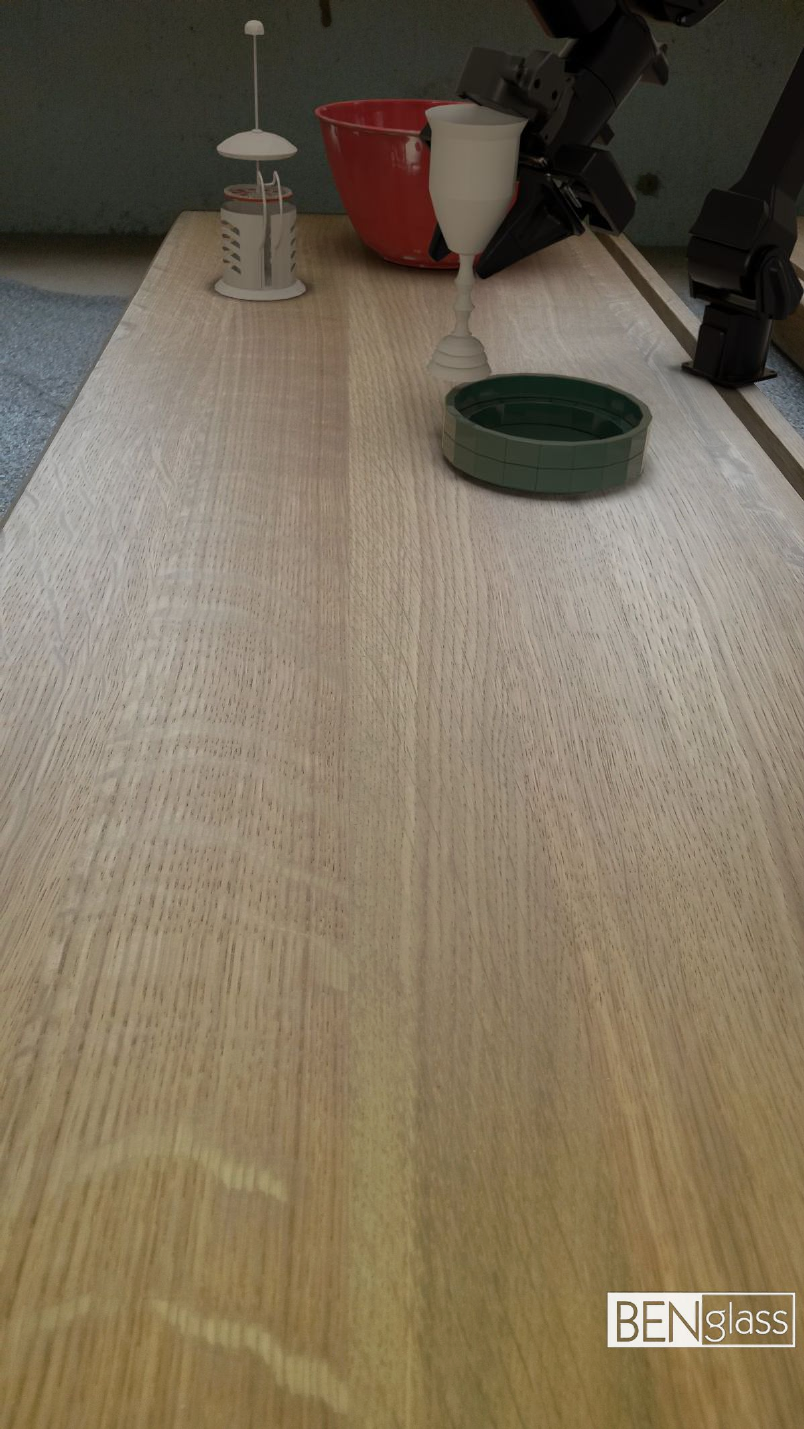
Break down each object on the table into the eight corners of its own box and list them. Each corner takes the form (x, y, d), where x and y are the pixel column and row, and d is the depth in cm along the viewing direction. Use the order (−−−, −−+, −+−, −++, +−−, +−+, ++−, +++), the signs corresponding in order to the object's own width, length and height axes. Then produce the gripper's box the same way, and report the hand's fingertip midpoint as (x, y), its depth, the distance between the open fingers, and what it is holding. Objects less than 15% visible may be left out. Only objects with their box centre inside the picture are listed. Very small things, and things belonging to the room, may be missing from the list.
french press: (293, 274, 136) (291, 16, 122) (321, 302, 127) (322, 27, 113) (206, 277, 133) (193, 14, 119) (227, 307, 124) (217, 25, 110)
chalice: (475, 347, 98) (495, 101, 87) (522, 377, 93) (549, 121, 82) (395, 361, 95) (406, 107, 84) (440, 393, 90) (457, 128, 79)
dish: (550, 411, 102) (556, 361, 100) (685, 473, 92) (695, 420, 90) (402, 445, 95) (404, 392, 92) (531, 517, 84) (537, 460, 82)
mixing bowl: (338, 221, 158) (340, 89, 150) (557, 238, 156) (572, 104, 147) (292, 275, 135) (291, 122, 126) (549, 296, 132) (566, 141, 124)
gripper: (445, -12, 88) (317, 166, 88) (630, 11, 75) (480, 218, 76) (519, 103, 96) (401, 264, 97) (695, 141, 84) (560, 326, 85)
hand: (454, 266), depth 88 cm, fingers closed on chalice, 5 cm apart
